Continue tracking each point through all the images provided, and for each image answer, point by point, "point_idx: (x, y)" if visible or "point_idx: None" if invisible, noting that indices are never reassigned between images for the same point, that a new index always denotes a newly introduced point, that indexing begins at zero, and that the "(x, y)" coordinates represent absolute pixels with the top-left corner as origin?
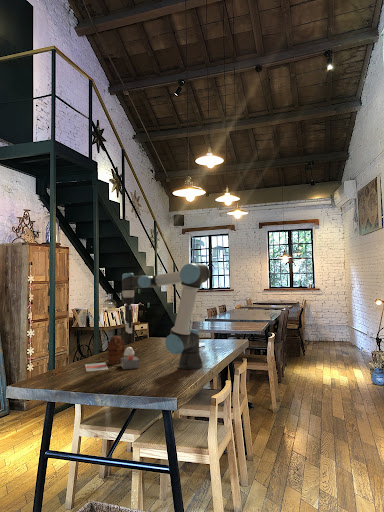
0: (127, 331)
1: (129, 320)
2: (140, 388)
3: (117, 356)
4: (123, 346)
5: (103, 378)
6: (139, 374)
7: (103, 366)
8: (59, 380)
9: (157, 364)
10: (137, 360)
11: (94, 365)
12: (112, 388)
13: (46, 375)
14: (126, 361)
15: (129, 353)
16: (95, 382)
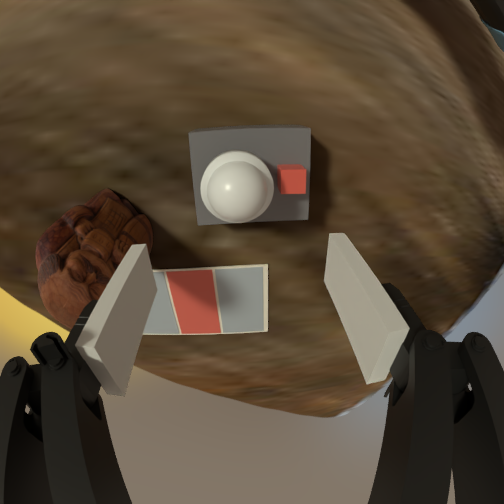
0: (152, 274)
1: (465, 385)
2: None
3: (139, 237)
4: (74, 223)
5: (399, 279)
6: (419, 157)
7: (204, 281)
8: (344, 371)
9: (251, 24)
10: (310, 138)
11: (171, 310)
12: (486, 258)
13: (267, 398)
14: (308, 200)
15: (272, 189)
16: (423, 297)
